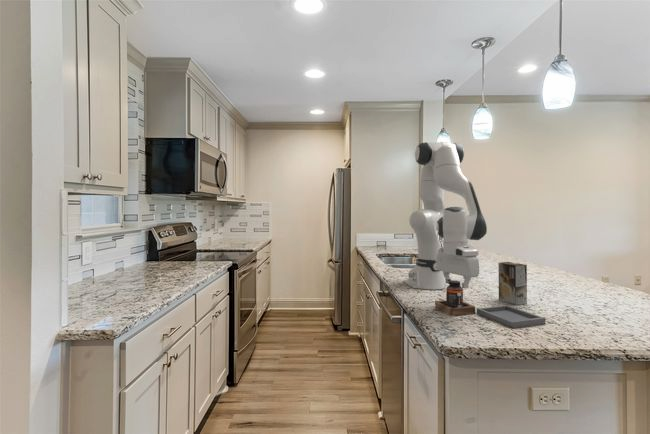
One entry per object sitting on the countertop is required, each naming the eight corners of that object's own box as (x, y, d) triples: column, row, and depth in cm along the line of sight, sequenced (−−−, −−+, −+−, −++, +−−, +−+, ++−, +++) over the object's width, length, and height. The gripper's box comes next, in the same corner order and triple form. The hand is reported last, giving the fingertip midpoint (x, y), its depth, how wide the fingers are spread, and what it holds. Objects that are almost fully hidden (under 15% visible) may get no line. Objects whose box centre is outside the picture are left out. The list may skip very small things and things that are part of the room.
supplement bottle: (464, 313, 124) (464, 283, 124) (447, 312, 125) (447, 282, 125) (461, 308, 130) (461, 279, 130) (445, 307, 131) (445, 279, 131)
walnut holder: (433, 307, 131) (433, 301, 131) (457, 305, 134) (457, 299, 134) (451, 316, 121) (451, 309, 121) (476, 313, 124) (476, 306, 124)
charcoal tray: (476, 313, 123) (476, 308, 123) (506, 310, 127) (506, 305, 127) (512, 328, 108) (512, 322, 108) (545, 323, 112) (545, 318, 112)
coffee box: (527, 303, 136) (528, 264, 136) (515, 305, 134) (516, 265, 134) (509, 298, 145) (509, 261, 144) (497, 299, 143) (497, 262, 142)
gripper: (431, 247, 136) (432, 281, 136) (467, 252, 116) (468, 291, 116) (444, 246, 138) (445, 280, 138) (482, 251, 118) (483, 290, 118)
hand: (456, 285), depth 127 cm, fingers open, 8 cm apart
